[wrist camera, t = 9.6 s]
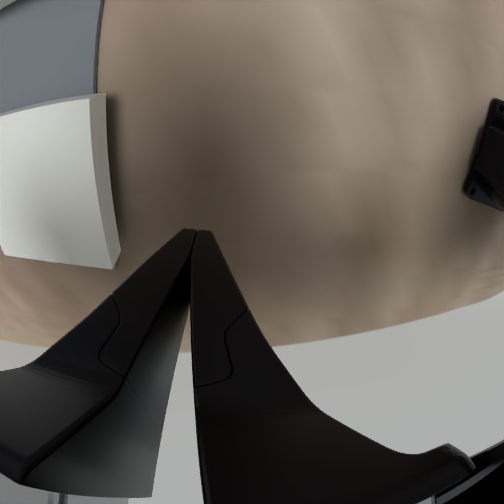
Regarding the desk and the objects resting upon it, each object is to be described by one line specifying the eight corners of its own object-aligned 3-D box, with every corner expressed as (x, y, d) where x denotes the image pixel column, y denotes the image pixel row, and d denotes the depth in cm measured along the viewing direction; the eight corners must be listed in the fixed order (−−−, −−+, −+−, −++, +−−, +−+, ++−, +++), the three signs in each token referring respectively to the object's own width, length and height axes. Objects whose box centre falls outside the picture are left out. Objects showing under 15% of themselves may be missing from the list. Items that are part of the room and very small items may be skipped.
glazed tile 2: (89, 98, 7) (-31, 127, 6) (112, 269, 12) (4, 255, 11) (112, 90, 9) (-7, 114, 8) (124, 244, 14) (20, 234, 13)
